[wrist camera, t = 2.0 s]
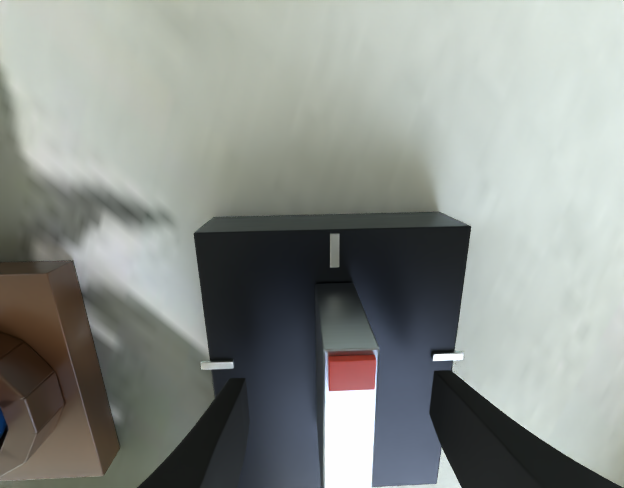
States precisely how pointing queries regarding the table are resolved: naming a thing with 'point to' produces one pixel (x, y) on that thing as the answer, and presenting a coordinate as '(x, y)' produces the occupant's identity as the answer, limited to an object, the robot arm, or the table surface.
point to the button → (2, 423)
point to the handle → (345, 387)
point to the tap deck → (302, 330)
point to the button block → (50, 377)
